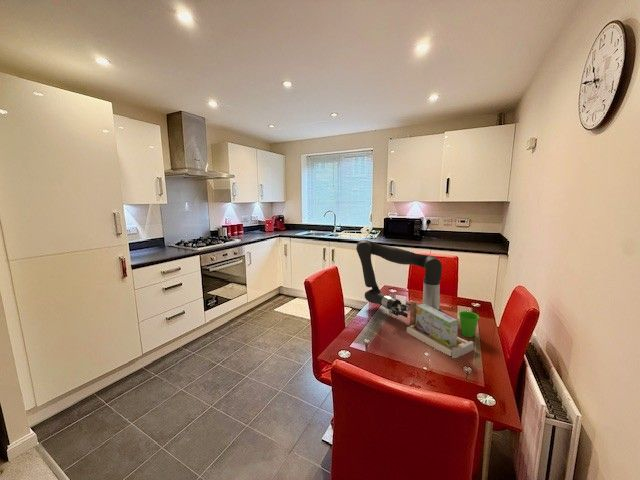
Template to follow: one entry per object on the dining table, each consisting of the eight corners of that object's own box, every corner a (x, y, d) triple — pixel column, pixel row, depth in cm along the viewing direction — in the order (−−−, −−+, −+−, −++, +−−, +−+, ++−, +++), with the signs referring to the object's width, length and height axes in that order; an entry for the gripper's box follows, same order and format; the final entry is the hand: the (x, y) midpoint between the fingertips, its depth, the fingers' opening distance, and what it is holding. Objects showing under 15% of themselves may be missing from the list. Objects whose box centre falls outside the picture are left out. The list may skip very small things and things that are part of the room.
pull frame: (417, 323, 148) (418, 299, 145) (466, 348, 123) (468, 320, 121) (403, 328, 143) (404, 304, 140) (452, 355, 118) (453, 326, 116)
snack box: (414, 331, 140) (415, 304, 137) (423, 329, 142) (424, 302, 140) (448, 353, 121) (450, 322, 118) (457, 349, 123) (459, 319, 120)
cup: (476, 342, 128) (478, 321, 127) (455, 336, 134) (457, 316, 132) (479, 334, 136) (480, 313, 134) (459, 329, 141) (460, 309, 139)
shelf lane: (424, 326, 145) (424, 319, 145) (473, 350, 122) (473, 342, 121) (406, 333, 139) (406, 325, 138) (454, 360, 116) (455, 351, 115)
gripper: (382, 300, 152) (403, 310, 139) (400, 294, 159) (422, 304, 145) (381, 312, 154) (403, 323, 140) (399, 306, 161) (421, 317, 147)
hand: (412, 313), depth 143 cm, fingers open, 8 cm apart
